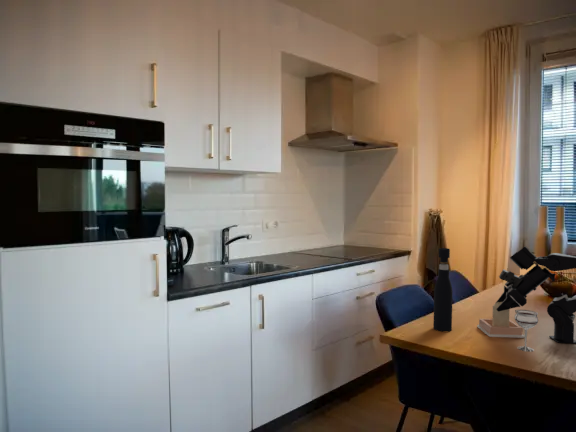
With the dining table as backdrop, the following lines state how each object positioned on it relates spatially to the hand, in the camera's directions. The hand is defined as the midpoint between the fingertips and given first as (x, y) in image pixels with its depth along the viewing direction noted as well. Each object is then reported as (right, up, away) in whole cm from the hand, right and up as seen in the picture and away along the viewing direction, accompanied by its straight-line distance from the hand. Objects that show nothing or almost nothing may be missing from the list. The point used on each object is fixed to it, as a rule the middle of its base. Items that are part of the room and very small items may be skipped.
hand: (496, 307), depth 161 cm
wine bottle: (-19, -9, +3) cm, 21 cm away
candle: (+1, -8, 0) cm, 8 cm away
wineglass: (+1, -10, -18) cm, 21 cm away
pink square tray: (+1, -9, 0) cm, 9 cm away
